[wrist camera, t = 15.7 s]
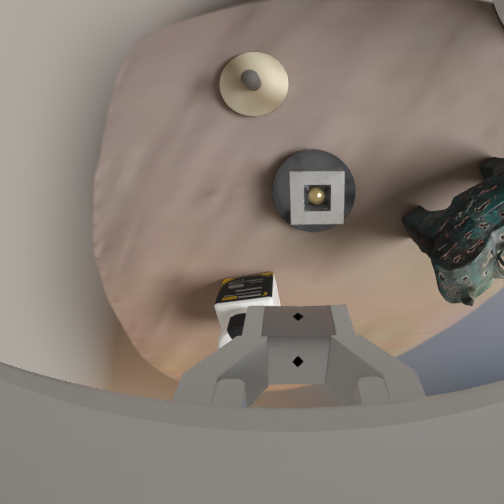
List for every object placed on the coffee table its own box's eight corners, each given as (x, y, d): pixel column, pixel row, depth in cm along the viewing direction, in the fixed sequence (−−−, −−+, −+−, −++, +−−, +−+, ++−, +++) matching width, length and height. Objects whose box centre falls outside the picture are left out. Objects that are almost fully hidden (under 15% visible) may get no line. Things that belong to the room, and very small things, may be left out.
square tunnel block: (289, 167, 37) (289, 171, 34) (339, 167, 36) (344, 171, 33) (290, 217, 39) (291, 224, 36) (339, 216, 38) (343, 223, 36)
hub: (302, 133, 36) (304, 134, 33) (368, 180, 38) (376, 186, 34) (257, 199, 40) (254, 208, 36) (322, 242, 41) (325, 254, 38)
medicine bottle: (273, 270, 44) (270, 321, 33) (282, 314, 46) (281, 371, 35) (222, 278, 45) (204, 329, 34) (234, 320, 47) (221, 376, 36)
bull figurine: (403, 250, 41) (470, 338, 22) (383, 212, 39) (453, 285, 21) (504, 180, 35) (599, 225, 17) (490, 141, 33) (592, 168, 15)
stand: (243, 42, 33) (237, 29, 27) (301, 75, 34) (304, 67, 28) (208, 95, 36) (196, 91, 30) (264, 128, 37) (261, 129, 31)
